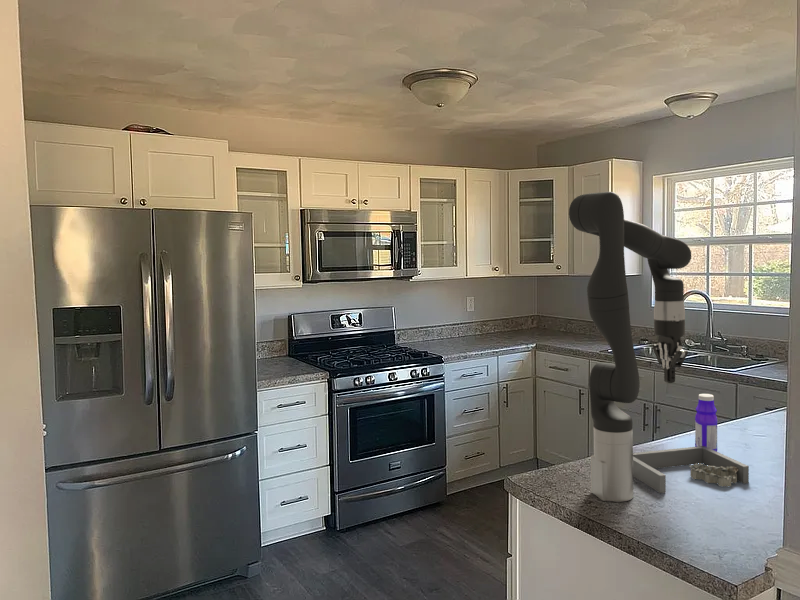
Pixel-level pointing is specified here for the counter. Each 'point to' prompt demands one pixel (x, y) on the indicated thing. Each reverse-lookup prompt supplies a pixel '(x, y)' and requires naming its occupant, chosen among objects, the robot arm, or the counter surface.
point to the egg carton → (714, 474)
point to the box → (676, 457)
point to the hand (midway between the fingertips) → (669, 382)
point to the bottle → (706, 422)
